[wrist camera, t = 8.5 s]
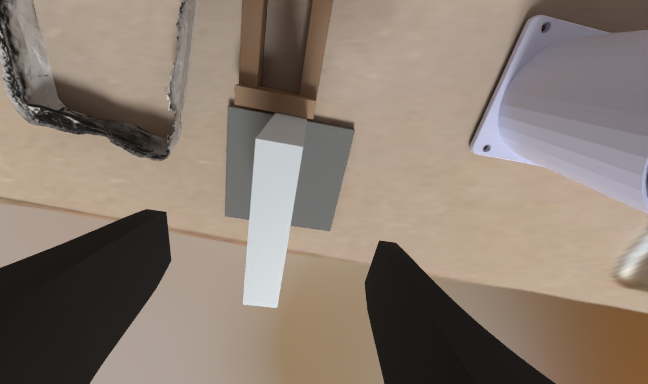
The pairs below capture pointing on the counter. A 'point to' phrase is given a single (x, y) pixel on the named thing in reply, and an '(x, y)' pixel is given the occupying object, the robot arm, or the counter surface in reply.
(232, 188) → the mat
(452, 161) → the counter surface
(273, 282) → the board
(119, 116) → the counter surface
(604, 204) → the counter surface
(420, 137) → the counter surface
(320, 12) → the rack
